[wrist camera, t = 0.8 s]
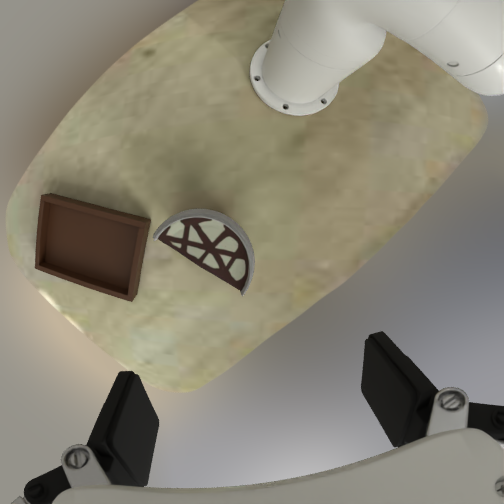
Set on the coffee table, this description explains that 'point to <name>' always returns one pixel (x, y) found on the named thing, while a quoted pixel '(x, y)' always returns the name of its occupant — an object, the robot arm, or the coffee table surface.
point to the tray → (91, 245)
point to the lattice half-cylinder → (211, 244)
